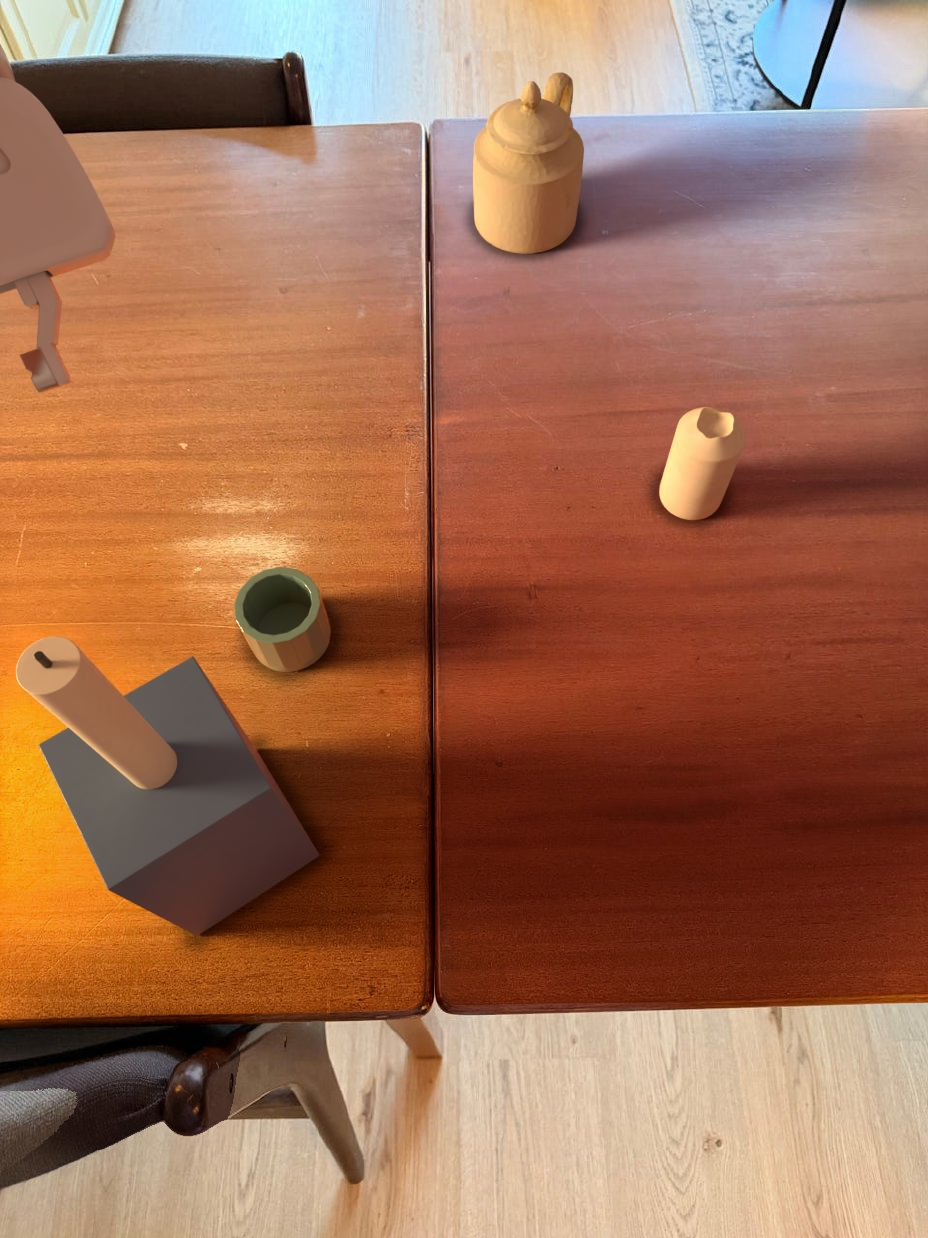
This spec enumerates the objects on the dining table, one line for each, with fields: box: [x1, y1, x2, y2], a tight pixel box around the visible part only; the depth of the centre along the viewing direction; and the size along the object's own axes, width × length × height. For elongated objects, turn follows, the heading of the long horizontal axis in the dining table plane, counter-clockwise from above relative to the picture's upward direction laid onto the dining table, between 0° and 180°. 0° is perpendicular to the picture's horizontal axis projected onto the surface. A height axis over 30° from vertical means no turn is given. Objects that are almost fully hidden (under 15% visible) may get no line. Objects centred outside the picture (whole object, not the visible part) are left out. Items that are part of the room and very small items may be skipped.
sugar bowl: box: [472, 71, 585, 255], centre depth 91 cm, size 15×11×15 cm
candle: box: [659, 406, 747, 521], centre depth 76 cm, size 6×6×10 cm
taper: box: [15, 635, 177, 789], centre depth 45 cm, size 3×3×15 cm
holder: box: [233, 566, 332, 673], centre depth 72 cm, size 7×7×6 cm
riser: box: [38, 656, 320, 937], centre depth 59 cm, size 10×10×17 cm
